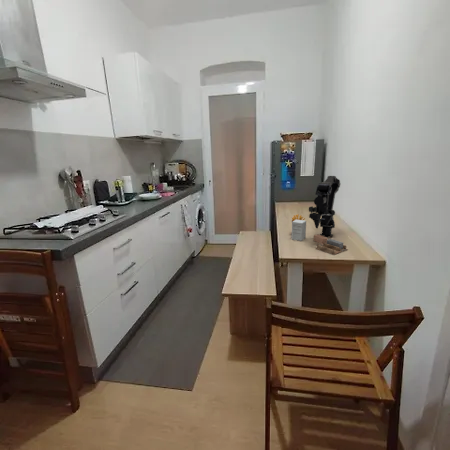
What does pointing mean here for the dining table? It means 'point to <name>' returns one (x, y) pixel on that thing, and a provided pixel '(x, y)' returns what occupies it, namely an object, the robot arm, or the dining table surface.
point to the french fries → (297, 217)
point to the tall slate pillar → (335, 243)
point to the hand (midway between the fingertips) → (321, 227)
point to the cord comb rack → (331, 249)
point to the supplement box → (298, 230)
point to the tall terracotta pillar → (320, 239)
